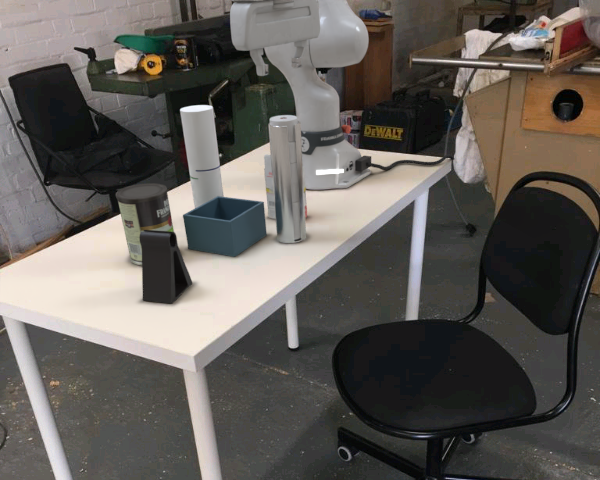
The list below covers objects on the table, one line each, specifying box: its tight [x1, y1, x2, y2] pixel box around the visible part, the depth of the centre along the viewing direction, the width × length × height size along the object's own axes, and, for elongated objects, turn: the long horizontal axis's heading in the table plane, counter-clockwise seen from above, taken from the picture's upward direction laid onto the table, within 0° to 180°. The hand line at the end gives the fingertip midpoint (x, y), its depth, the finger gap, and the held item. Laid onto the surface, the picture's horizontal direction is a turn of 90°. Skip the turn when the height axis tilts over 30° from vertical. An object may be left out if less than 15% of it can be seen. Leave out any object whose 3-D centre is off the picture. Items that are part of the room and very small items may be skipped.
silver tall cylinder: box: [267, 114, 307, 244], centre depth 135 cm, size 6×6×25 cm
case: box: [182, 196, 268, 258], centre depth 140 cm, size 13×12×8 cm
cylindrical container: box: [179, 104, 225, 209], centre depth 147 cm, size 7×7×25 cm
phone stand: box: [140, 230, 193, 304], centre depth 119 cm, size 9×6×12 cm, turn 162°
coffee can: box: [115, 182, 175, 266], centre depth 134 cm, size 10×10×14 cm
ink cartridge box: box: [263, 153, 308, 220], centre depth 149 cm, size 9×5×15 cm, turn 55°
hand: (280, 71), depth 123 cm, fingers open, 8 cm apart
